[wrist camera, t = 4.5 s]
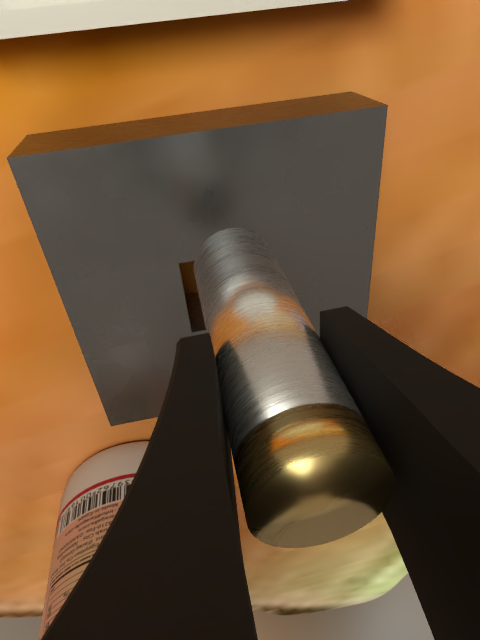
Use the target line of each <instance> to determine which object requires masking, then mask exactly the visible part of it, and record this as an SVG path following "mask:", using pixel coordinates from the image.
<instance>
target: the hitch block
mask: <svg viewBox="0 0 480 640" xmlns="http://www.w3.org/2000/svg"><path fill="white" fill-rule="evenodd" d="M387 107H388V105H386V104H383V103H380V102H378V101H375V100H372V99H370V98H367V97H365V96H362V95H359V94H357V93H354V92H345V93H338V94H330V95H323V96H315V97H308V98H301V99H293V100H286V101H278V102H271V103H263V104H256V105H248V106H241V107H233V108H226V109H218V110H211V111H204V112H196V113H189V114H181V115H174V116H166V117H159V118H151V119H144V120H136V121H129V122H121V123H114V124H106V125H99V126H92V127H84V128H77V129H69V130H62V131H54V132H47V133H39V134H32V135H27V136H26V137H25V138H24V139H23V140H22V142H21V143H20V144H19V145H18V146H17V147H16V148H15V149H14V151H13V152H12V153H11V154H10V155H9V156H8V157H7V160H8V162H9V165H10V167H11V170H12V173H13V175H14V178H15V180H16V183H17V185H18V188H19V191H20V193H21V196H22V198H23V201H24V203H25V206H26V209H27V211H28V214H29V216H30V219H31V221H32V224H33V227H34V229H35V232H36V234H37V237H38V239H39V242H40V245H41V247H42V250H43V252H44V255H45V257H46V260H47V263H48V265H49V268H50V270H51V273H52V275H53V278H54V281H55V283H56V286H57V288H58V291H59V294H60V296H61V299H62V301H63V304H64V306H65V309H66V312H67V314H68V317H69V319H70V322H71V324H72V327H73V330H74V332H75V335H76V337H77V340H78V342H79V345H80V348H81V350H82V353H83V355H84V358H85V360H86V363H87V366H88V368H89V371H90V373H91V376H92V378H93V381H94V384H95V386H96V389H97V391H98V394H99V396H100V399H101V402H102V404H103V407H104V409H105V412H106V414H107V417H108V420H109V422H110V425H111V426H114V425H119V424H124V423H129V422H134V421H139V420H144V419H149V418H154V417H159V414H160V411H161V408H162V405H163V402H164V398H165V395H166V392H167V389H168V385H169V381H170V378H171V374H172V369H173V365H174V360H175V354H176V343H177V342H178V341H179V340H180V338H184V337H189V336H194V335H199V334H205V333H207V331H206V327H205V322H204V317H203V312H202V308H201V303H200V298H199V293H198V292H197V293H191V294H186V295H185V290H184V284H183V279H182V274H181V269H180V263H185V262H191V261H194V259H195V256H196V253H197V251H198V249H199V248H200V246H201V245H202V244H203V242H204V241H205V240H206V239H208V238H209V237H210V236H212V235H213V234H215V233H217V232H219V231H222V230H225V229H229V228H243V229H248V230H251V231H253V232H255V233H257V234H259V235H260V236H261V237H262V238H263V239H264V240H265V241H266V242H267V244H268V245H269V247H270V249H271V251H272V253H273V255H274V256H275V258H276V260H277V262H278V264H279V265H280V267H281V269H282V271H283V273H284V275H285V276H286V278H287V280H288V282H289V284H290V285H291V287H292V289H293V291H294V293H295V295H296V296H297V298H298V300H299V302H300V304H301V305H302V307H303V309H304V311H305V313H306V315H307V316H308V318H309V320H310V322H311V324H312V325H313V327H314V329H315V331H316V333H317V335H318V336H319V338H320V311H324V310H329V309H334V308H340V307H345V306H348V307H349V308H351V309H353V310H354V311H356V312H357V313H359V314H360V315H362V316H363V317H365V318H366V319H367V310H368V300H369V290H370V279H371V269H372V259H373V249H374V239H375V229H376V219H377V208H378V198H379V188H380V178H381V168H382V158H383V148H384V137H385V127H386V117H387Z"/></svg>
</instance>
